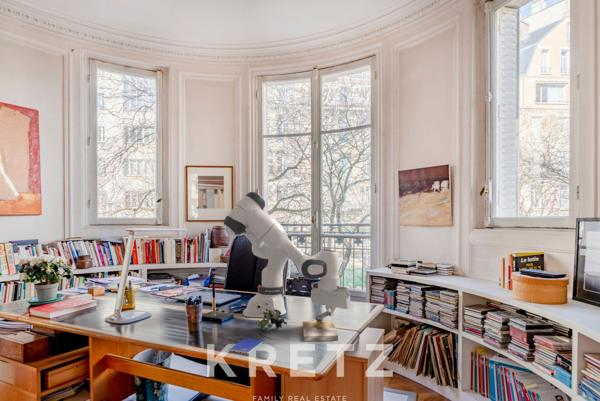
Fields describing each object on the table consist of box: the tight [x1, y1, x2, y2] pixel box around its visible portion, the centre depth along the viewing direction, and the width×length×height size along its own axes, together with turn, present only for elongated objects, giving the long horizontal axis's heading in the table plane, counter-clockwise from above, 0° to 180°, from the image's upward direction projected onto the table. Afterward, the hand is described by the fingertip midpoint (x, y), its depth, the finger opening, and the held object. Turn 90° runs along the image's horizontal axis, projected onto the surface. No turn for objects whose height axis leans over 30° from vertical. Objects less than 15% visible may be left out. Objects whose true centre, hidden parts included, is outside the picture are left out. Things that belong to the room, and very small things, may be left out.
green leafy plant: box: [255, 309, 288, 333], centre depth 169 cm, size 11×11×12 cm
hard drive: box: [229, 338, 264, 355], centre depth 149 cm, size 2×8×12 cm
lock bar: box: [315, 308, 331, 321], centre depth 170 cm, size 13×3×3 cm, turn 149°
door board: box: [302, 319, 339, 342], centre depth 166 cm, size 14×21×6 cm, turn 2°
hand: (330, 315), depth 171 cm, fingers closed
